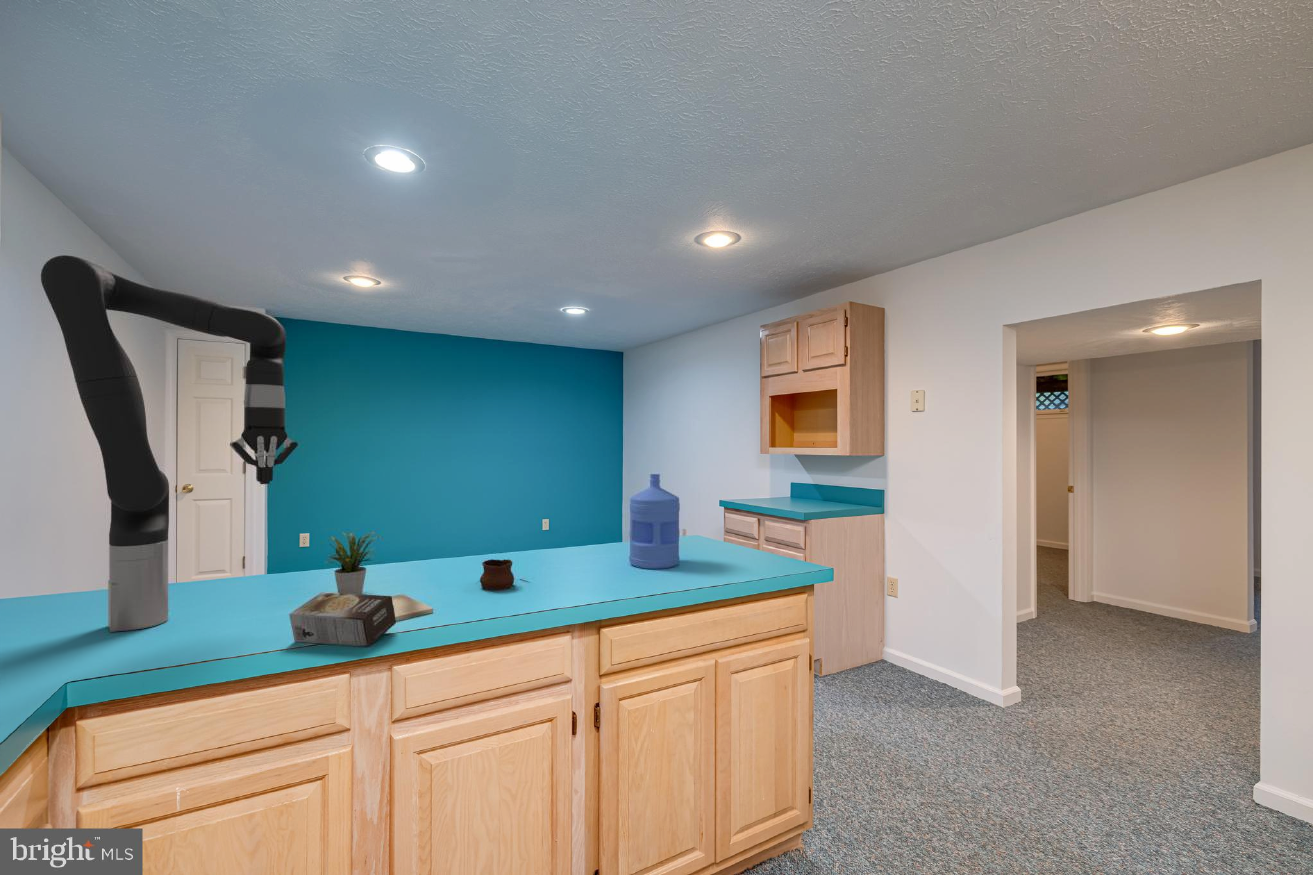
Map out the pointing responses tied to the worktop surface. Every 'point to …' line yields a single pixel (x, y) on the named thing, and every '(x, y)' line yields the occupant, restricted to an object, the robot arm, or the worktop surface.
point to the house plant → (350, 565)
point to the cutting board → (408, 607)
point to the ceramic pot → (497, 575)
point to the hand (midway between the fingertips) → (264, 483)
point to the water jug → (654, 527)
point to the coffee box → (343, 619)
